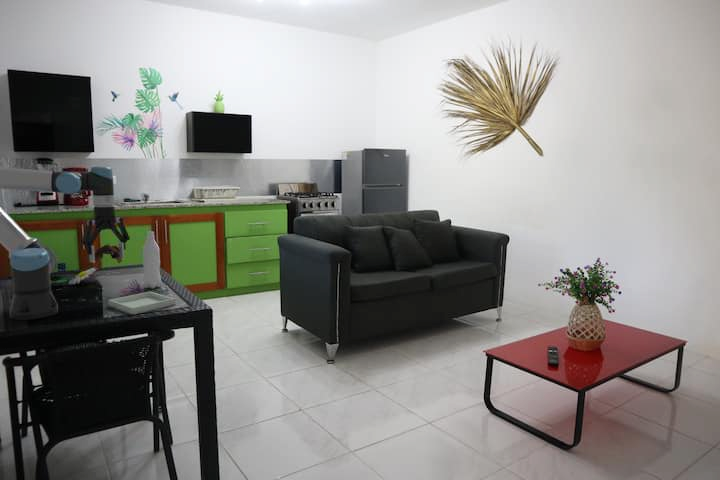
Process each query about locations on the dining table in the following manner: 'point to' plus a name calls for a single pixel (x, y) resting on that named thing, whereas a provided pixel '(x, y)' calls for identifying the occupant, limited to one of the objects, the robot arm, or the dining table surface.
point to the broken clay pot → (108, 252)
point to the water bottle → (151, 262)
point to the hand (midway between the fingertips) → (107, 260)
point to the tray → (141, 302)
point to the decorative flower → (77, 277)
